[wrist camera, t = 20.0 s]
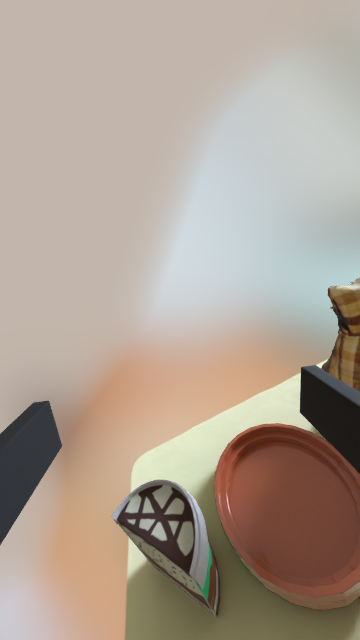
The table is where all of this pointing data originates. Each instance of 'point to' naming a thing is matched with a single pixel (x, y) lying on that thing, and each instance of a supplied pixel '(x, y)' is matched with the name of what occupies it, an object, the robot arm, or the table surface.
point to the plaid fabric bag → (346, 334)
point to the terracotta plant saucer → (292, 514)
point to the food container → (172, 538)
